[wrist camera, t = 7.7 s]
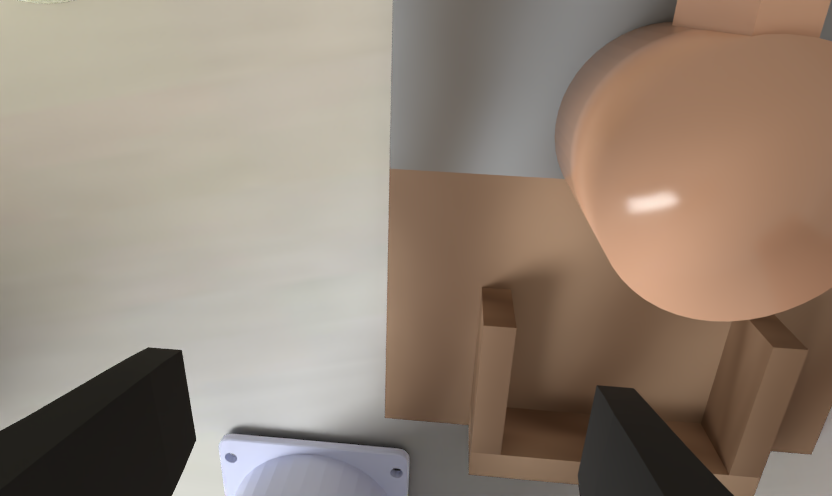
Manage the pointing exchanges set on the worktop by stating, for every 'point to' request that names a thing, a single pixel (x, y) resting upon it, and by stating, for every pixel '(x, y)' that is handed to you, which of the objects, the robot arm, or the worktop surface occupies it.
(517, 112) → the cradle
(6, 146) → the worktop surface
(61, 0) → the can
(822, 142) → the capsule with rectangular tab
